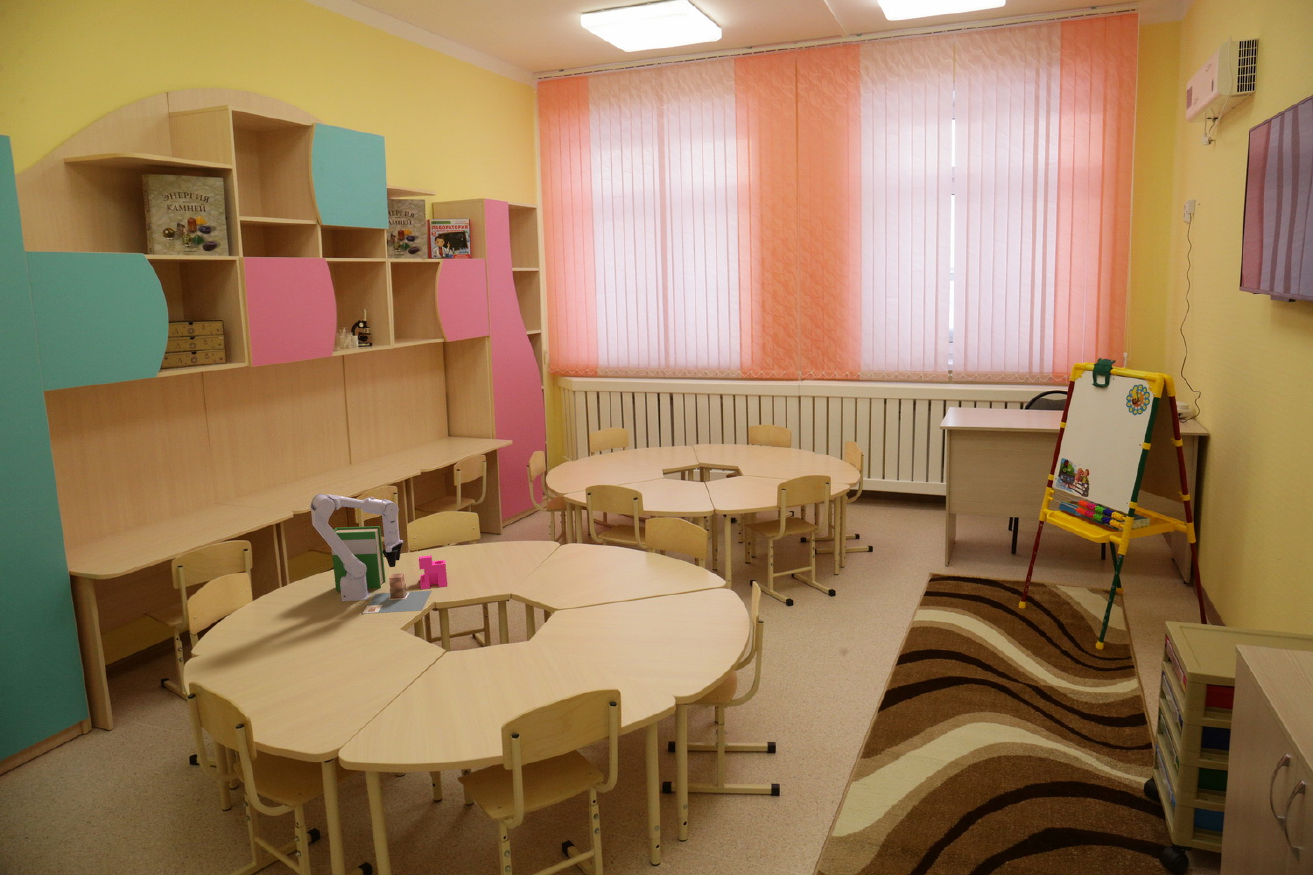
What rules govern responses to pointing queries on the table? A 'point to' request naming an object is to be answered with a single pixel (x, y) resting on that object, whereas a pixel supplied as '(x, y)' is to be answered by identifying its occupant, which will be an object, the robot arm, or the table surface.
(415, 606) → the mat
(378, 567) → the hardback book
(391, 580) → the terracotta block
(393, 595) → the walnut block
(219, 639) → the table surface
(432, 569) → the bracket
